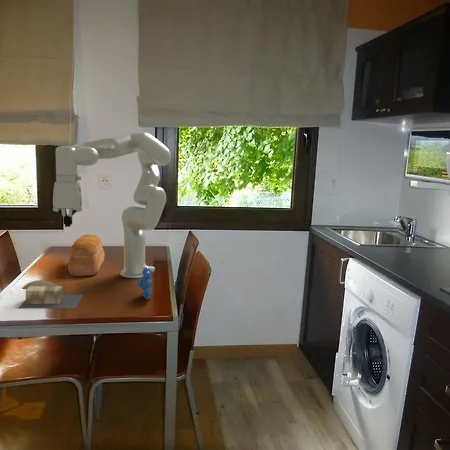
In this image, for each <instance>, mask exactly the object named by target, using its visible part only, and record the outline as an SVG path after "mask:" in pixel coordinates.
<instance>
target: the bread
mask: <svg viewBox="0 0 450 450" xmlns="http://www.w3.org/2000/svg"><path fill="white" fill-rule="evenodd" d="M102 244H103V242H102V239H101V238H100V237H99V236H98V235H95V234H85V235H81V236H80V237H78V238H77V239H76V240H75V241H74V243H73V244H72V246H71V248H70V253H71V255H70V256H69V259H68V264H67V268H68V273H69V275H70V276H74V277H88V276H89V277H90V276H94V275H96V274H97V273H98V272H99V271H100V269H101V267H102V265H103V264H104V260H105V250H104V248H103V246H102Z"/></svg>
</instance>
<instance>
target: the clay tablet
mask: <svg viewBox="0 0 450 450" xmlns="http://www.w3.org/2000/svg"><path fill="white" fill-rule="evenodd" d="M30 286H60V285H59V284H56V283H52V282H50V281H48V280H45V279H37V280H33V281H30V282H28V283H26V284H25V285H24V286H22V287H21V288H22V289H24V290H25V291H26V290H27V289H28V288H29V287H30Z"/></svg>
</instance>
